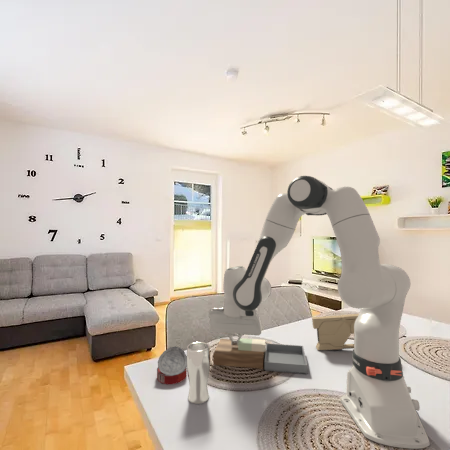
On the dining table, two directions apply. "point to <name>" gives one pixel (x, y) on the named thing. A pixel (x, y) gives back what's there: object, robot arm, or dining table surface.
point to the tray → (285, 358)
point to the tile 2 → (258, 345)
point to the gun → (334, 331)
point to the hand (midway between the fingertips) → (235, 344)
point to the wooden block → (236, 356)
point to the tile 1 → (245, 344)
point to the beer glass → (198, 371)
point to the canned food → (172, 366)
